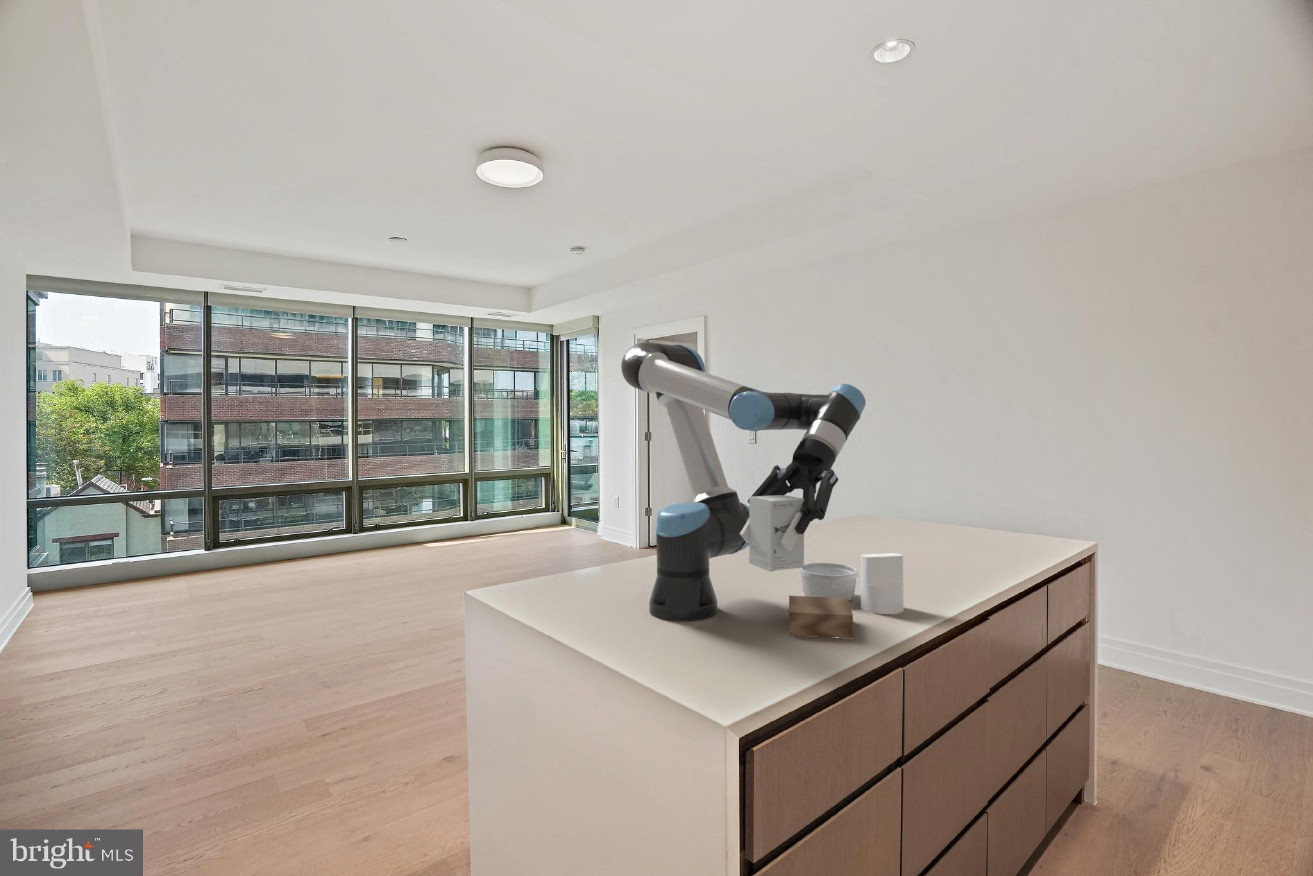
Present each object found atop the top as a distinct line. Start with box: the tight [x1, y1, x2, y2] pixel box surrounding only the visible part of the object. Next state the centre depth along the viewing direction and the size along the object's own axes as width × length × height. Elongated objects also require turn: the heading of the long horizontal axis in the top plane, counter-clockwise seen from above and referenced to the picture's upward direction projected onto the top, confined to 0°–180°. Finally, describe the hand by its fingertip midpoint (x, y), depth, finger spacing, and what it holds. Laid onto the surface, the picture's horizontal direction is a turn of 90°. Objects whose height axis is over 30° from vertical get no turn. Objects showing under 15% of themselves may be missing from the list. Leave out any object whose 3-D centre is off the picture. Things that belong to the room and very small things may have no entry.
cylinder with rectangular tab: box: [860, 552, 904, 615], centre depth 143 cm, size 9×9×12 cm
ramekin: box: [799, 562, 859, 602], centre depth 153 cm, size 13×13×7 cm
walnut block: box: [788, 595, 854, 640], centre depth 131 cm, size 12×12×5 cm
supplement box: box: [748, 494, 805, 573], centre depth 117 cm, size 7×7×13 cm
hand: (764, 542), depth 115 cm, fingers closed on supplement box, 9 cm apart
